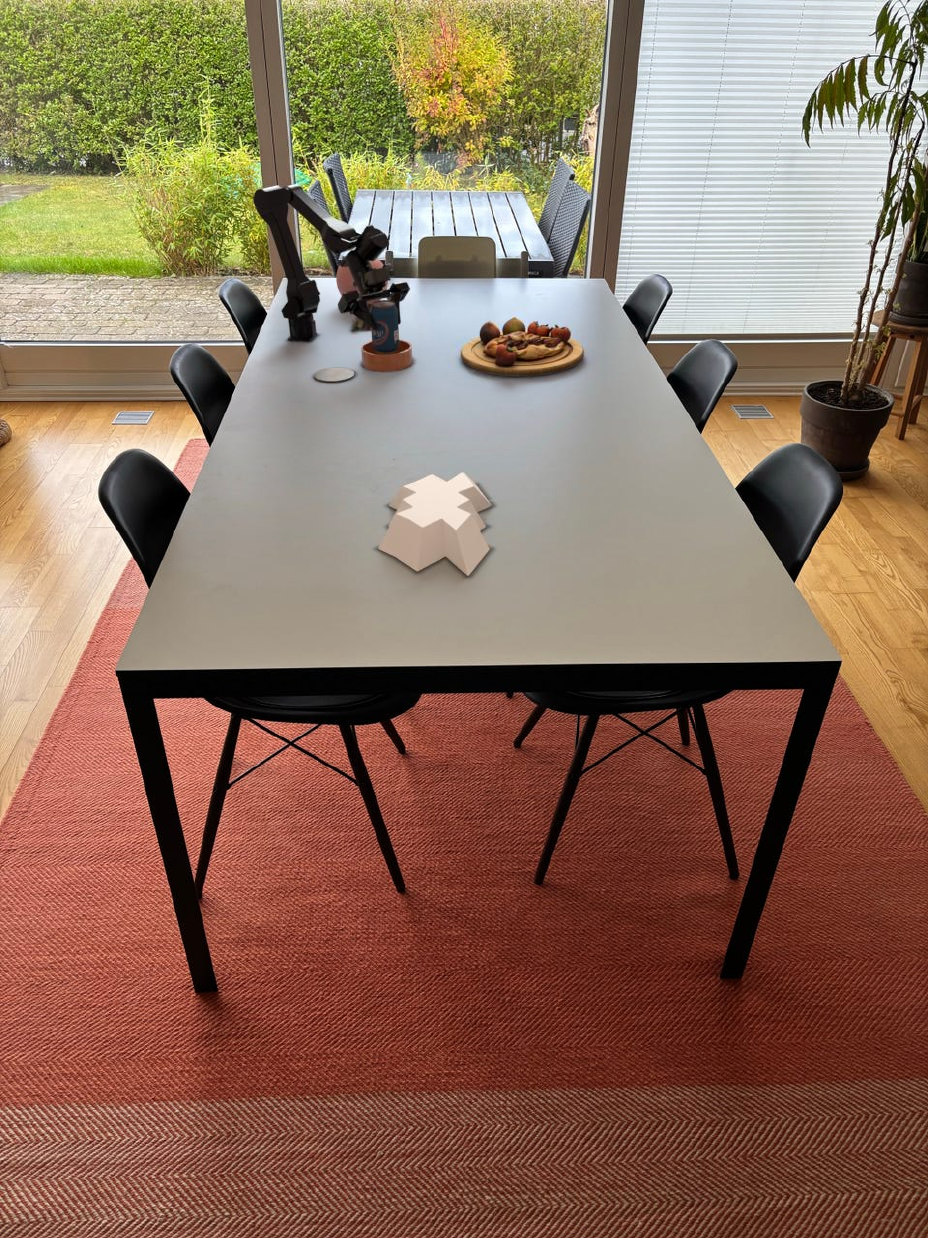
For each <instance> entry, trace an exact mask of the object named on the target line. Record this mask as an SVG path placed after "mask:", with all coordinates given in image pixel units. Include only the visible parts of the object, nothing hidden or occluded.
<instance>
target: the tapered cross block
mask: <svg viewBox="0 0 928 1238" xmlns="http://www.w3.org/2000/svg"><path fill="white" fill-rule="evenodd" d="M388 506H389V507H390V508H392V509H394V510H396V511H395V513H394V515H393V517H392V518H391V520H390V522H389V524H388V526H387V527H388V529H387V531H386V533H385V534H384V537H383V538H382V540H381V542H380V543H379V546H378V548H377V549H378V550H380V551H381V552H384V553H386V554H387V555H390V556H392V557H395V558H396V559H398V560H399V561H401V562H402V563H404V564H405V565H407V566H408V567H409V568H411V569H412V570H413V571H415V572H419V571H421V570H423V569H425V568H427V567H429V566H431V565H432V564H434V563H436V562H438V561H440V560H441V559H443V558H446V559H448V560H449V562H451V563H453V565H455V566H456V568H458V569H459V570H460V571H461V572H462V573H464V574H465V575H466V576H467V577H469V576H470V575H471V573H472V572H473V571H474V570H475V568H477V566H478V565H479V564H480V562H481V561H482V560H483V558H484V557H485V556H486V555H487V554H488V553H489V551H490V550H491V548H490V547H489V545H488V543H487V541H486V539H485V537H484V535H483V533H482V530H484V529H486V528H487V526H486V523H485V521H484V520H483V519H482V517H481V516H480V514H479V512H481V511H483V510H486V509H488V508H491V507H492V506H493V505H492V503H491V502H490V501H489V500H488V498H487V497H486V495H485V494H484V493H483V492H482V490H481V489H480V488H479V487H478V485H477V484H476V483H475V482H474V480H472V479H471V478H470V477H469V476H468V475H467V474H466V473H465V472H464V471H462V472H460V473H458V474H457V475H456V476H454V477H453V478H451V479H449V480H448V481H446V480H444V479H442V478H441V477H438V476H436V475H435V474H433V473H431V474H428V475H427V476H424V477H423V478H420V479H418V480H416V481H414V482H411V483H407V484H405V485H402V486H401V488H400V489H399V491H398V492H397V493H396V495H395V496H394V497H393V499H392V500H391V502H390V503H389V504H388Z"/></svg>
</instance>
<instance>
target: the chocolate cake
mask: <svg viewBox="0 0 928 1238" xmlns="http://www.w3.org/2000/svg"><path fill="white" fill-rule="evenodd" d="M371 307H372V304H369V303H367V308H368V310H369V312H370V310H371ZM354 316H355V315H354ZM357 328H359V329H365V330H370V331H371V327H370V326H368V325H367V324H366V323H365V322H363V321H362V320H361V319H359V318H358V317H356V316H355V317H354V320H353V324H352V329H351V331H354V330H356V329H357Z"/></svg>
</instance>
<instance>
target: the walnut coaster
mask: <svg viewBox="0 0 928 1238" xmlns="http://www.w3.org/2000/svg"><path fill="white" fill-rule="evenodd" d="M354 377H355V371H354V370H352V369H350V368H346V367H328V368H323V369H320V370H318V371H316V372H315V373H314V380H316V381H317V382H321V383H326V384H327V383H328V384H334V383H336V384H337V383H343V382H347V381H349V380H351V379H353V378H354Z"/></svg>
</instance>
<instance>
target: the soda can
mask: <svg viewBox="0 0 928 1238" xmlns="http://www.w3.org/2000/svg"><path fill="white" fill-rule="evenodd" d="M370 314H371V316H372V318H373V320H374V322H375V325H376V330H373V329H372V328H371V330H370V333H371V341H372V346H373V348H374V350H375V351H376V352H377V353H381V354H389V353H394V352H396V351H397V349H398V347H399V340H400V330H399V325H398V309H397V308H396V306H395V302H393V301H390V300H387V299H381V300H379V301H375V302H373V303H372V307H371V310H370Z"/></svg>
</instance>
